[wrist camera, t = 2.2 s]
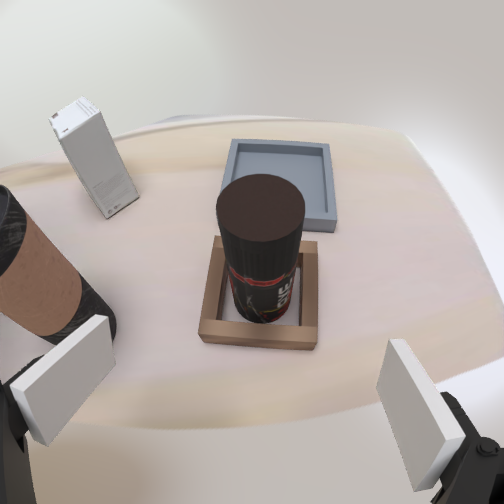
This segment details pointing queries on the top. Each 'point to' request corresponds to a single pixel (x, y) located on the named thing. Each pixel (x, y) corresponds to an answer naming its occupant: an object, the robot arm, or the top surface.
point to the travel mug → (41, 279)
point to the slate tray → (290, 174)
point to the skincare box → (94, 155)
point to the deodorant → (261, 242)
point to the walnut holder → (254, 332)
